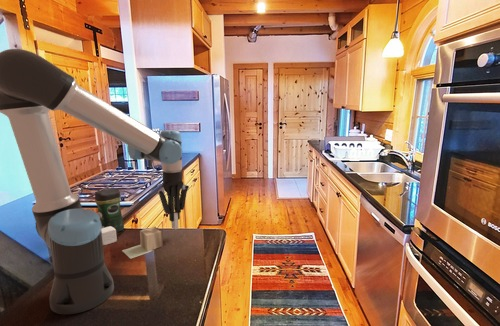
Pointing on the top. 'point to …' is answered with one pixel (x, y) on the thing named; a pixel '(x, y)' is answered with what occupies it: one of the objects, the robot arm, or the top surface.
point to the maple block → (151, 238)
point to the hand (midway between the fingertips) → (175, 227)
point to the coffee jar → (109, 208)
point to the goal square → (135, 251)
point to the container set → (108, 235)
